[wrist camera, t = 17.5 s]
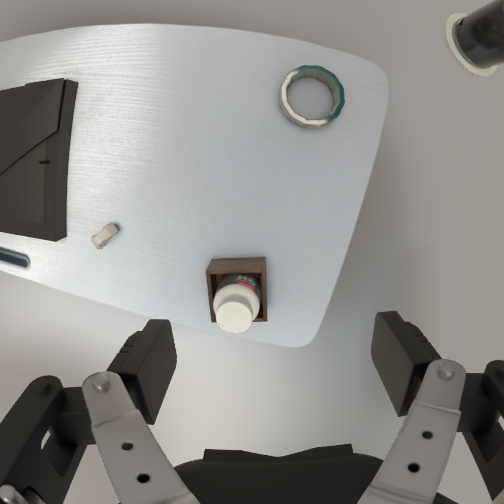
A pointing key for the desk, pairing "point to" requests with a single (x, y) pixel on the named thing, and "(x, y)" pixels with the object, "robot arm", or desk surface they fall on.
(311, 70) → the teal ring
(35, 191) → the dark grey flat block
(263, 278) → the holder
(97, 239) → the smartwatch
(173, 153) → the desk surface
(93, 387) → the robot arm
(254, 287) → the pill bottle
